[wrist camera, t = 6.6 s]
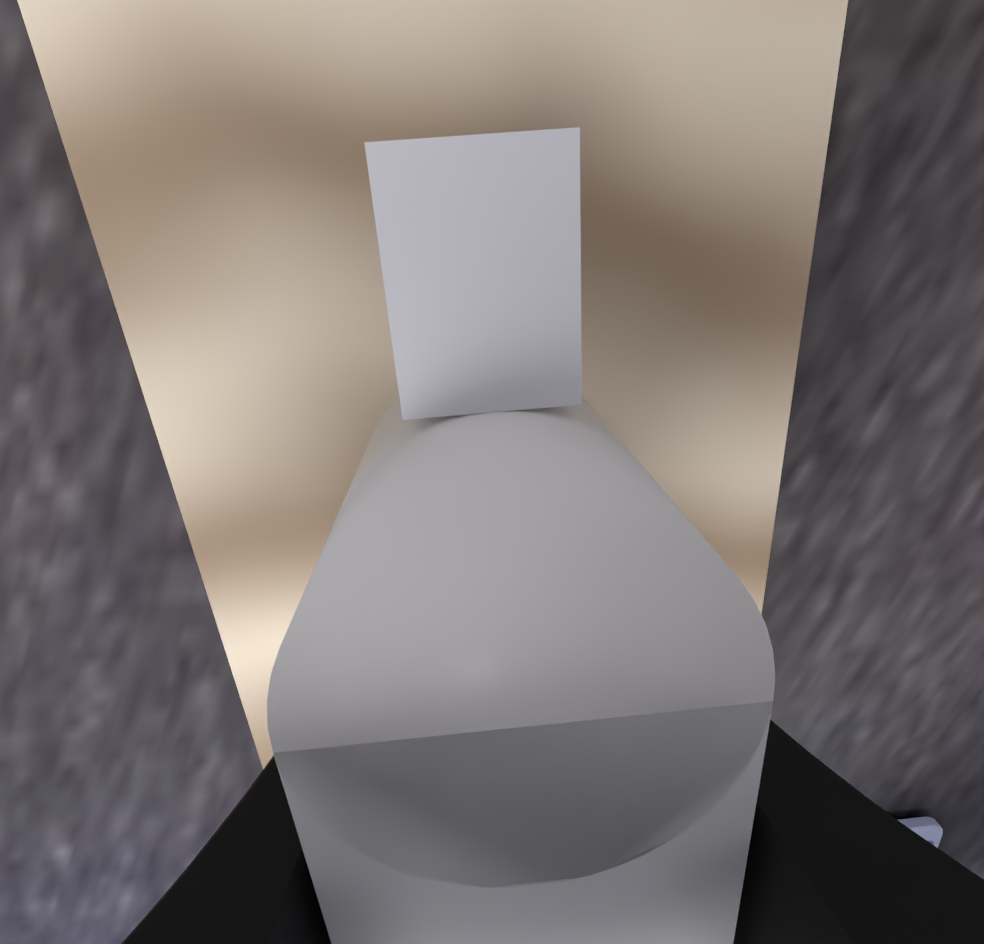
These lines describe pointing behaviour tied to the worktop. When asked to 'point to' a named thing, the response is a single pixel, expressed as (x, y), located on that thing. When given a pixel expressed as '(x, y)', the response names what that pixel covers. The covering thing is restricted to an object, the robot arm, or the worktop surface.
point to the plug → (513, 611)
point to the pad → (356, 258)
